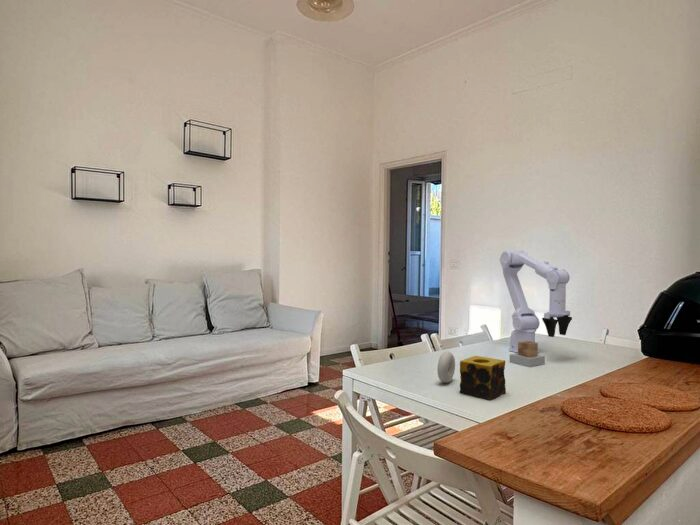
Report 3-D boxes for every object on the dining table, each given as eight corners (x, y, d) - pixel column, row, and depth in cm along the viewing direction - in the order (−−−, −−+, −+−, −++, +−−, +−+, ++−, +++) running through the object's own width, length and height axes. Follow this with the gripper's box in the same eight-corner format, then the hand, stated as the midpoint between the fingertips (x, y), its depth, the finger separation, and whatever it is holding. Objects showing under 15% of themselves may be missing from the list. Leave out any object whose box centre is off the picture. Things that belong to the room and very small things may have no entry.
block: (517, 355, 175) (518, 342, 175) (526, 353, 177) (526, 340, 177) (529, 357, 171) (529, 344, 170) (537, 355, 173) (537, 342, 173)
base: (509, 362, 176) (509, 354, 175) (524, 359, 181) (524, 351, 180) (530, 367, 168) (530, 359, 168) (544, 364, 173) (544, 356, 173)
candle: (506, 393, 137) (506, 360, 137) (491, 401, 130) (491, 366, 129) (475, 386, 144) (475, 354, 144) (458, 393, 136) (459, 360, 136)
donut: (445, 387, 143) (446, 355, 142) (435, 385, 144) (435, 353, 144) (456, 379, 151) (456, 349, 151) (446, 378, 153) (446, 348, 153)
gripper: (556, 302, 170) (555, 339, 171) (577, 300, 178) (577, 335, 179) (539, 301, 176) (538, 336, 176) (560, 299, 184) (560, 332, 184)
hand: (556, 335), depth 178 cm, fingers open, 7 cm apart
